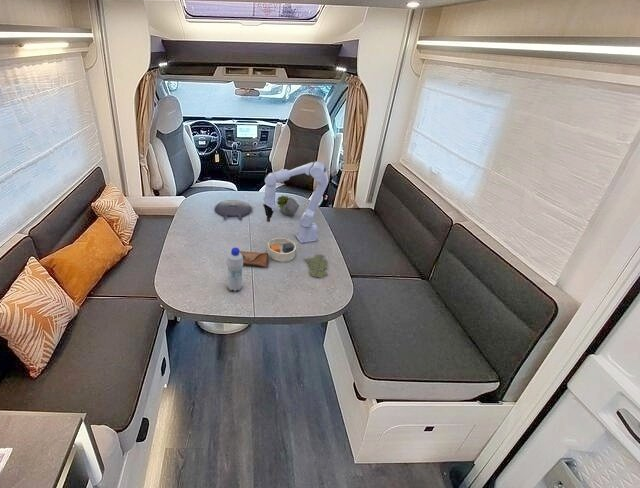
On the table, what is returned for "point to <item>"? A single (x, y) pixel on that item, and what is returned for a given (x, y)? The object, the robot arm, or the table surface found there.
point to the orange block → (275, 248)
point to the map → (317, 266)
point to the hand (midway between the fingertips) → (268, 216)
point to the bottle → (235, 269)
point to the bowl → (280, 256)
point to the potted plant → (287, 205)
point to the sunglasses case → (255, 259)
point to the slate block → (287, 247)
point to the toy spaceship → (233, 208)
